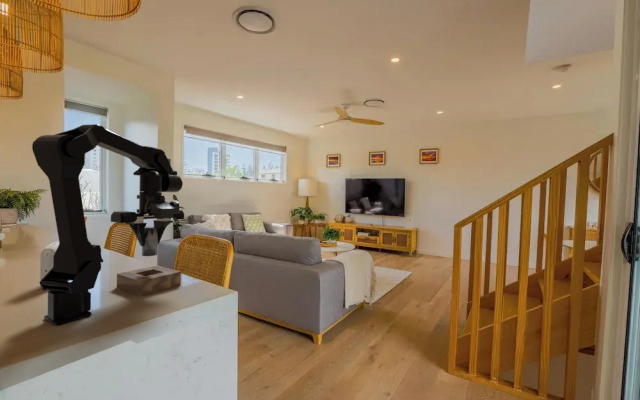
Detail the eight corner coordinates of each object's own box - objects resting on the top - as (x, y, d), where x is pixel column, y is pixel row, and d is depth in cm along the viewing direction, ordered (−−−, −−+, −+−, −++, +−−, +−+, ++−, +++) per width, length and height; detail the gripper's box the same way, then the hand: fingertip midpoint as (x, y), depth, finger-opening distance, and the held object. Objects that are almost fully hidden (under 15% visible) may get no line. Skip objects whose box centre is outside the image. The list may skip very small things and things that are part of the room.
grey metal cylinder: (146, 256, 86) (147, 228, 86) (138, 255, 88) (139, 227, 88) (160, 254, 90) (160, 227, 89) (152, 252, 92) (152, 226, 91)
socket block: (140, 295, 81) (140, 281, 81) (116, 287, 87) (116, 273, 87) (180, 284, 91) (180, 271, 91) (157, 277, 97) (157, 265, 97)
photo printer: (56, 289, 84) (56, 244, 84) (37, 290, 83) (37, 245, 83) (74, 278, 94) (74, 239, 94) (57, 279, 93) (57, 239, 93)
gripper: (132, 192, 76) (131, 253, 77) (196, 193, 92) (195, 244, 93) (110, 191, 82) (109, 248, 82) (173, 192, 98) (172, 240, 98)
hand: (149, 245), depth 89 cm, fingers closed on grey metal cylinder, 4 cm apart
